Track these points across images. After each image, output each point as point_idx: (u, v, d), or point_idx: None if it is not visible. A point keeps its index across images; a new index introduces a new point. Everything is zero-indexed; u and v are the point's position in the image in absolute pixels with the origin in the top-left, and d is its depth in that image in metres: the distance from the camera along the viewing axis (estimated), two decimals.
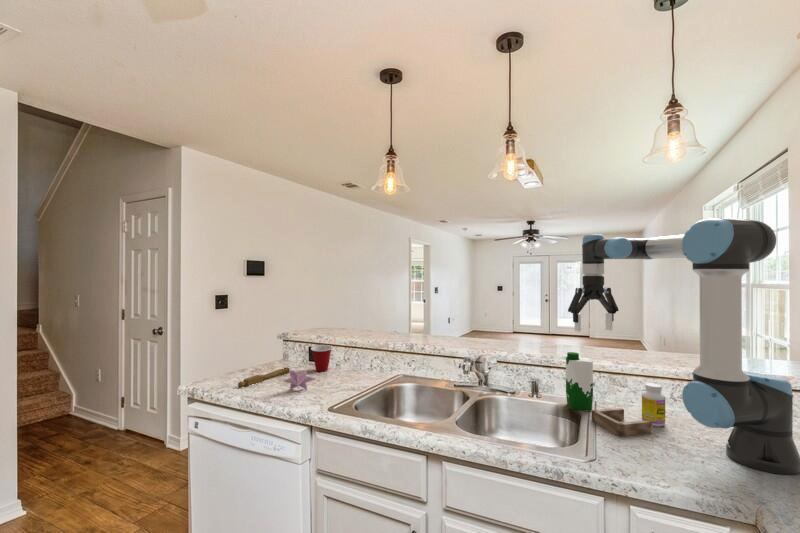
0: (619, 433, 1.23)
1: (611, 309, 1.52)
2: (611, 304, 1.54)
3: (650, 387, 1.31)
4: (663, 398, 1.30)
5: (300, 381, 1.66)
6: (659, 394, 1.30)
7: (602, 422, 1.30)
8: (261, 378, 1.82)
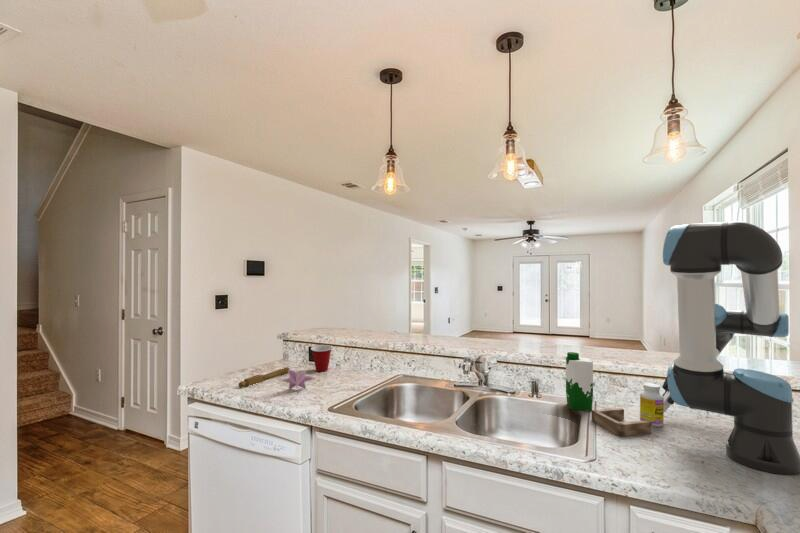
0: (619, 433, 1.23)
1: None
2: None
3: (648, 387, 1.31)
4: (661, 398, 1.30)
5: (299, 381, 1.67)
6: (657, 394, 1.30)
7: (602, 422, 1.30)
8: (261, 378, 1.82)
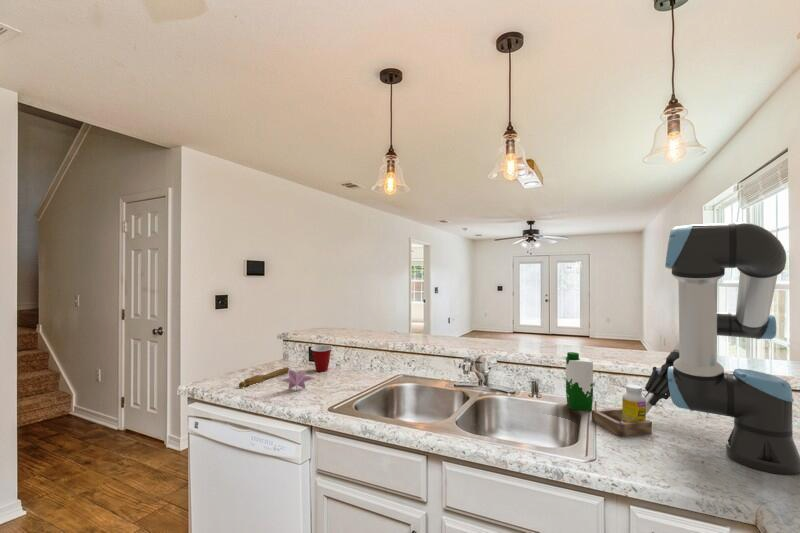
0: (619, 433, 1.23)
1: (658, 390, 1.33)
2: None
3: (631, 389, 1.29)
4: (644, 400, 1.28)
5: (299, 380, 1.67)
6: (640, 396, 1.29)
7: (602, 422, 1.30)
8: (262, 378, 1.82)
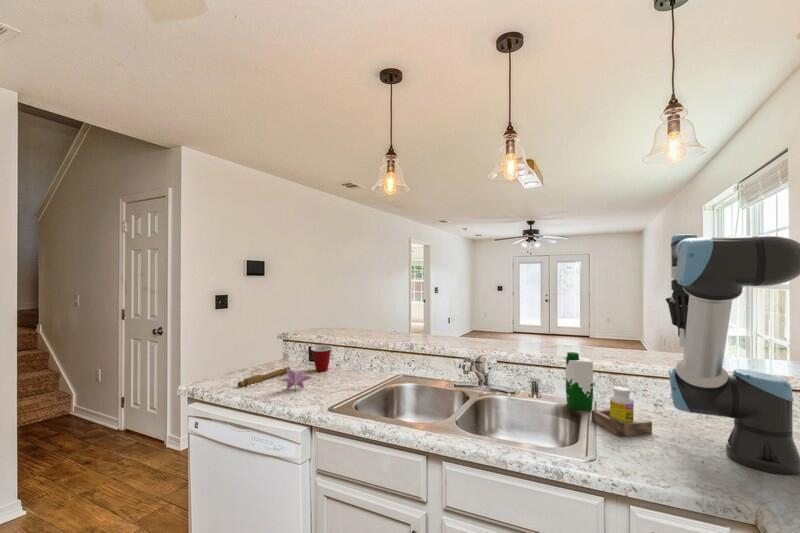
0: (619, 433, 1.23)
1: (685, 323, 1.36)
2: None
3: (619, 391, 1.27)
4: (632, 402, 1.26)
5: (297, 380, 1.68)
6: (628, 398, 1.27)
7: (602, 422, 1.30)
8: (261, 378, 1.82)
